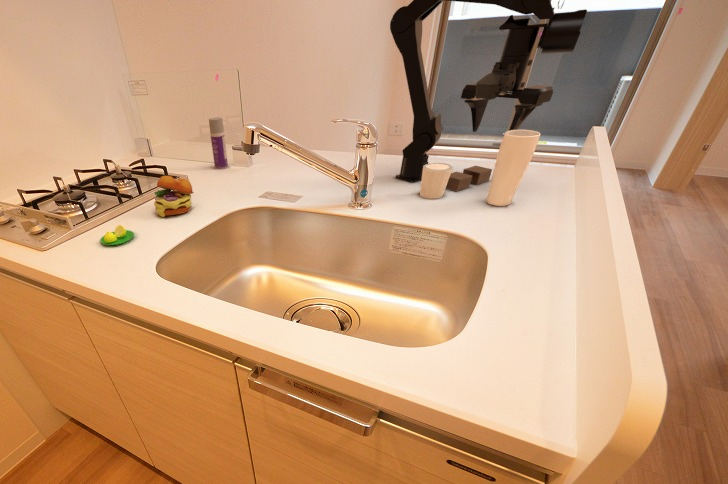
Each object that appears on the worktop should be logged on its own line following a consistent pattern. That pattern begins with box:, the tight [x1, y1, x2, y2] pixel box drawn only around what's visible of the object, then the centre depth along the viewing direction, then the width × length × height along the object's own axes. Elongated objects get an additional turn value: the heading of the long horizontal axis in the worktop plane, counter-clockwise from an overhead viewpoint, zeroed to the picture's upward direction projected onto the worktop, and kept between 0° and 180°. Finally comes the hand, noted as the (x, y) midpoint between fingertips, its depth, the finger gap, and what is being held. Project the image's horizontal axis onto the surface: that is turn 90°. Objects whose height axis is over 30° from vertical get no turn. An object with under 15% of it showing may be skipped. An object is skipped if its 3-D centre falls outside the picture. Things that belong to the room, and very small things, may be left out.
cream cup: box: [419, 162, 454, 200], centre depth 93 cm, size 7×7×7 cm
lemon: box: [99, 224, 135, 246], centre depth 87 cm, size 8×8×3 cm
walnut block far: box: [462, 165, 493, 186], centre depth 100 cm, size 5×5×3 cm
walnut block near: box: [445, 171, 472, 192], centre depth 97 cm, size 5×5×3 cm
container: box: [208, 116, 229, 170], centre depth 124 cm, size 5×5×15 cm
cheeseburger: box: [153, 175, 195, 218], centre depth 98 cm, size 10×11×10 cm
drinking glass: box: [485, 129, 541, 207], centre depth 83 cm, size 7×7×15 cm
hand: (491, 134), depth 91 cm, fingers open, 9 cm apart
